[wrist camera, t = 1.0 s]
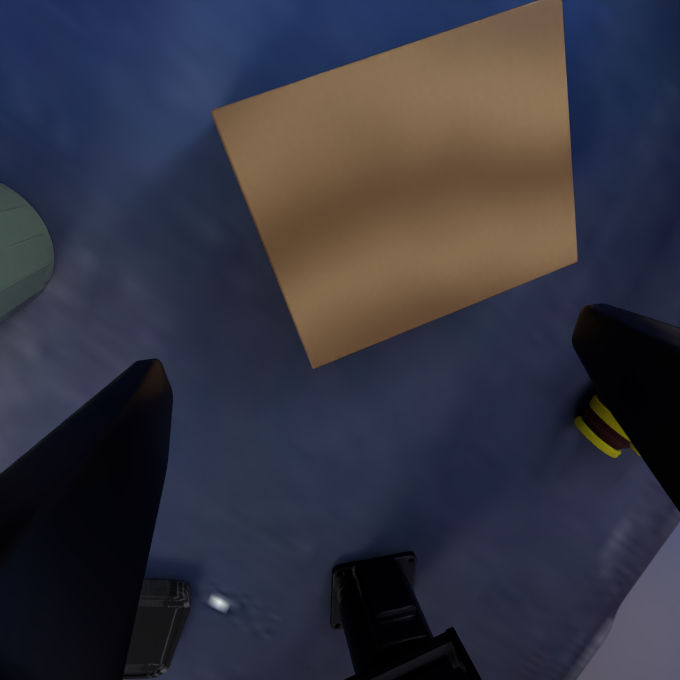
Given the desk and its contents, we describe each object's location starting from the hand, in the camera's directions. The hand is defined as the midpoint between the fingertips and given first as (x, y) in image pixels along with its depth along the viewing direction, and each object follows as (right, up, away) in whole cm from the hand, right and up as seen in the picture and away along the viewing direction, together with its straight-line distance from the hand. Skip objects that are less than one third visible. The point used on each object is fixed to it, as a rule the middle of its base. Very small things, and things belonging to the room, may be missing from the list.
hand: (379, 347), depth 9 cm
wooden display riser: (+2, +8, +13) cm, 15 cm away
